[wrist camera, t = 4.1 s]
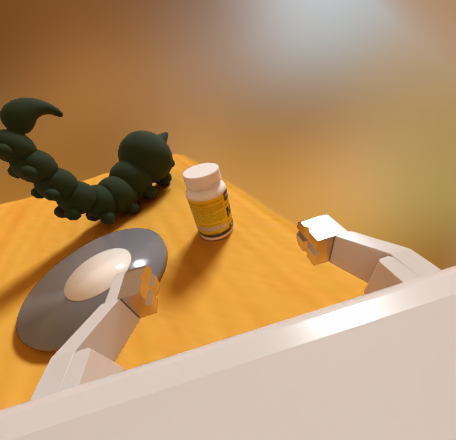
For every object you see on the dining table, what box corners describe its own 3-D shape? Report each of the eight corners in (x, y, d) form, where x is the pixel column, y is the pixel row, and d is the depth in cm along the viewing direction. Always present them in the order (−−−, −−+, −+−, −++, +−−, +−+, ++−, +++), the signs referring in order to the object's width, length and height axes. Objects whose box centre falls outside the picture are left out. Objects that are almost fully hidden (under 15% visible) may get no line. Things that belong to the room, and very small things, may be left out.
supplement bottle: (238, 234, 23) (227, 171, 18) (202, 246, 22) (180, 184, 17) (227, 214, 27) (216, 158, 22) (196, 224, 26) (177, 168, 21)
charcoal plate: (-22, 376, 15) (-34, 373, 14) (69, 248, 27) (65, 244, 26) (162, 322, 16) (158, 317, 15) (170, 222, 28) (168, 217, 27)
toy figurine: (113, 253, 27) (197, 168, 42) (-37, 107, 14) (161, 63, 30) (78, 242, 31) (167, 168, 46) (-64, 119, 18) (123, 75, 34)
